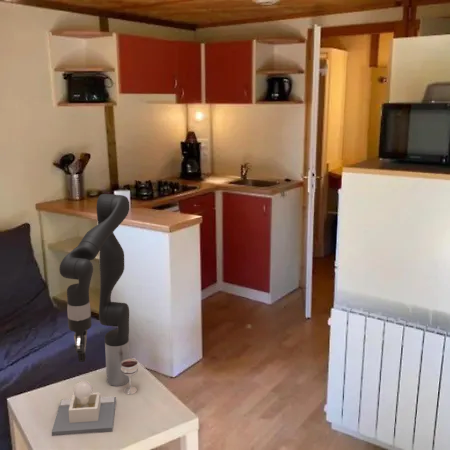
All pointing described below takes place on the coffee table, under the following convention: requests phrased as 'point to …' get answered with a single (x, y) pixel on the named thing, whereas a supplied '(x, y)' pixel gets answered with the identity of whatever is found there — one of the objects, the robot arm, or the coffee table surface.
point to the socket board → (85, 416)
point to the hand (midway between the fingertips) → (82, 360)
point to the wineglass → (129, 372)
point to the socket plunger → (89, 405)
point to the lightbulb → (83, 393)
